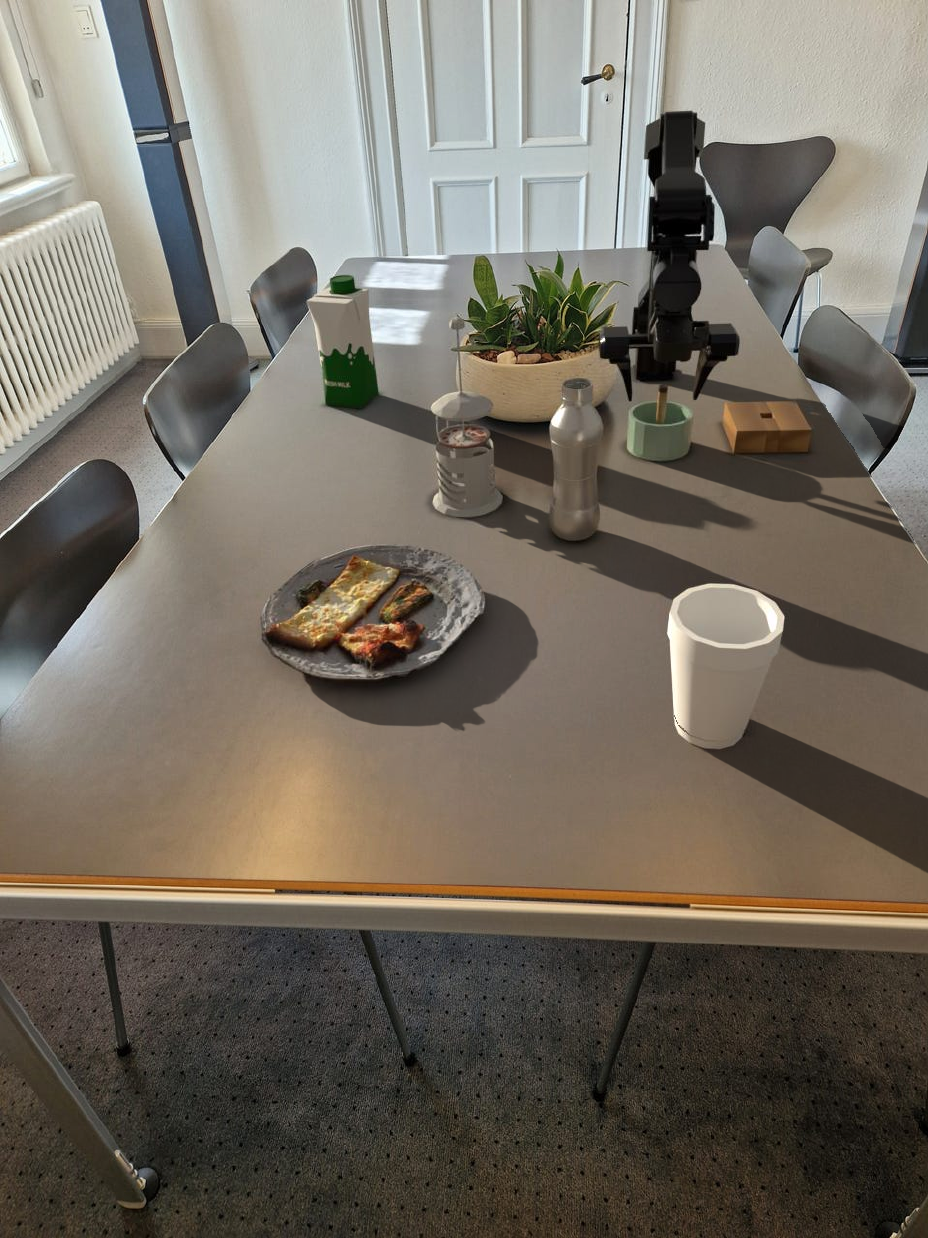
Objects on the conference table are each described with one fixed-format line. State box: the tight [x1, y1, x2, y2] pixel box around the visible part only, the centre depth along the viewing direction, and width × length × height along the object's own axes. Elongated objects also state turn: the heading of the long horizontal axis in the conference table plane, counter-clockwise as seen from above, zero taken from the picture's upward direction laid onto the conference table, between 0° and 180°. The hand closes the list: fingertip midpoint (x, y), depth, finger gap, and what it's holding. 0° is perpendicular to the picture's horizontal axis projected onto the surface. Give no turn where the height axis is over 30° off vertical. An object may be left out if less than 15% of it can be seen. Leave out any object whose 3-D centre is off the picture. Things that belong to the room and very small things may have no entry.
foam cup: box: [667, 583, 785, 750], centre depth 76 cm, size 10×9×13 cm
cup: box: [626, 400, 695, 462], centre depth 126 cm, size 9×9×6 cm
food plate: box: [260, 543, 486, 684], centre depth 95 cm, size 25×23×4 cm
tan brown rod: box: [656, 384, 669, 425], centre depth 125 cm, size 1×1×9 cm
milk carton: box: [306, 274, 379, 410], centre depth 144 cm, size 9×9×20 cm
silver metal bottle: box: [548, 377, 604, 542], centre depth 103 cm, size 6×7×20 cm
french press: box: [430, 317, 504, 518], centre depth 111 cm, size 10×12×25 cm
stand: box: [722, 400, 813, 454], centre depth 128 cm, size 10×10×4 cm
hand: (662, 399), depth 123 cm, fingers open, 9 cm apart
